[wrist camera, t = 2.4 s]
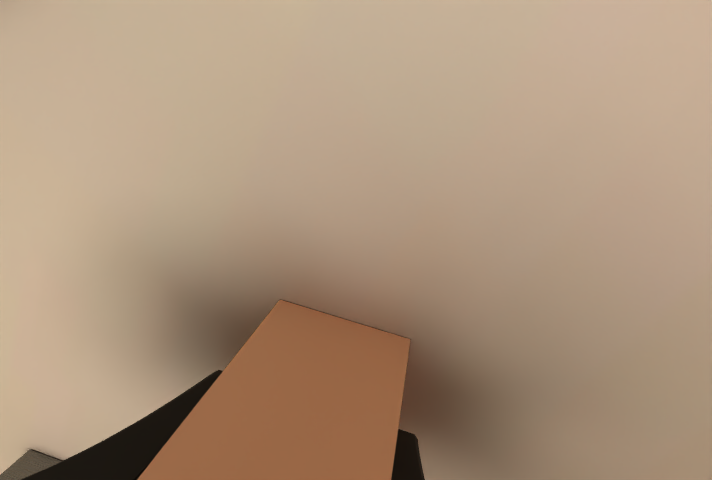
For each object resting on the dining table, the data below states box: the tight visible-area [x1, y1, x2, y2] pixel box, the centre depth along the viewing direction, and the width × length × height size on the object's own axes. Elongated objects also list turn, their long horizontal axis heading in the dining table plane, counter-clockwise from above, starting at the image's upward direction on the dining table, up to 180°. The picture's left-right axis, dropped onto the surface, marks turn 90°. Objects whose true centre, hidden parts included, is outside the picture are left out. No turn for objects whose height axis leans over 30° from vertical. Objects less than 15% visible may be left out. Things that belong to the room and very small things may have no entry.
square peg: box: [137, 300, 411, 480], centre depth 10 cm, size 4×4×7 cm
